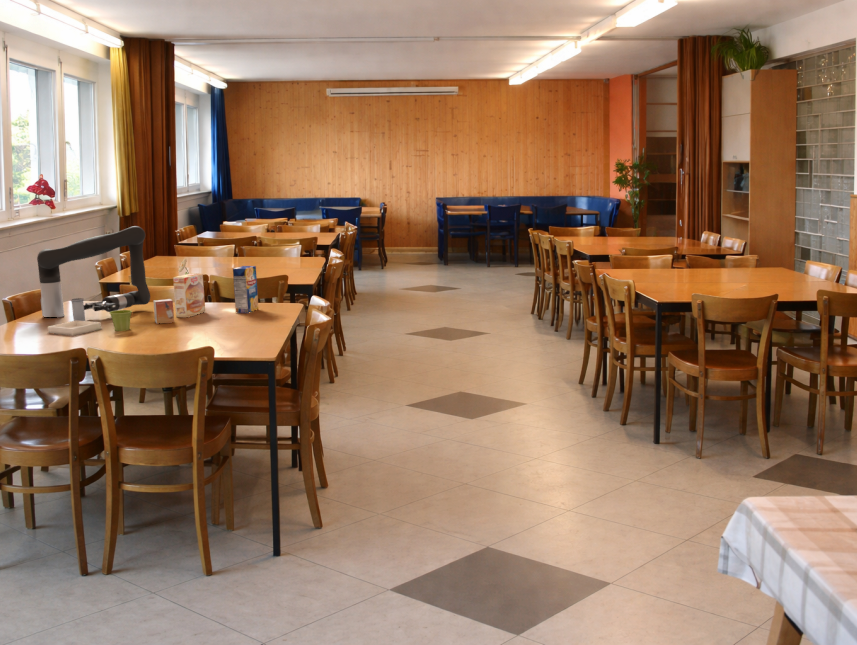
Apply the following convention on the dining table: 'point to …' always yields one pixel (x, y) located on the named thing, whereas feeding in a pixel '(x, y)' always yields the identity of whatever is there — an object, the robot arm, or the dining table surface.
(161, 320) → the small box
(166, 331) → the dining table surface
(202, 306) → the coffeecake box
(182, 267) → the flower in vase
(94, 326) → the dish
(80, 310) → the canister
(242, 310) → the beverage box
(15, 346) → the dining table surface
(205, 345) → the dining table surface
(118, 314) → the plant pot
